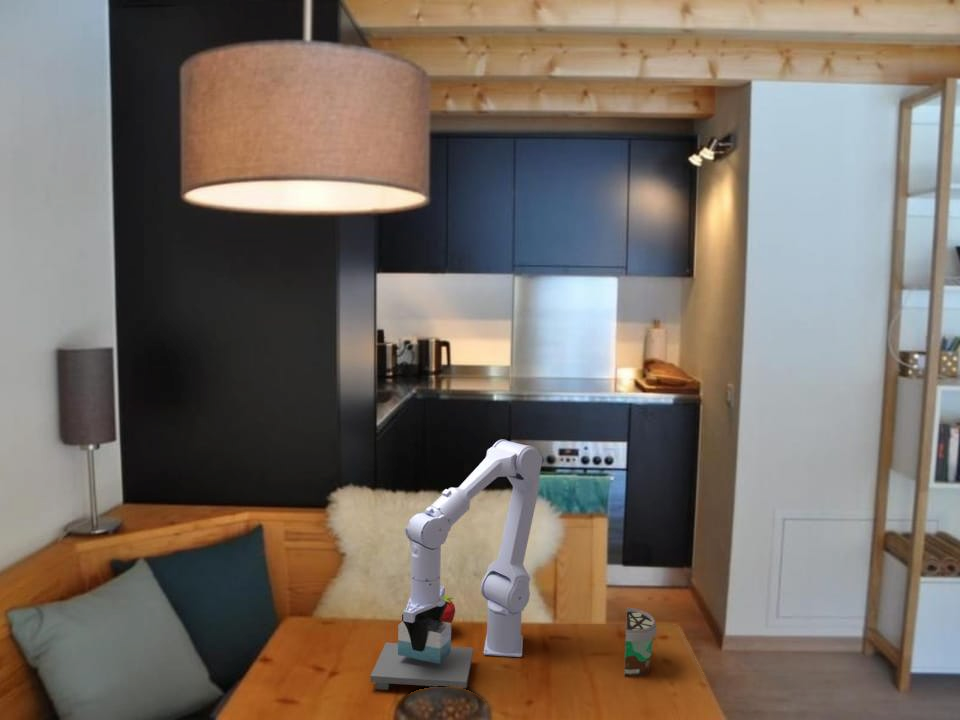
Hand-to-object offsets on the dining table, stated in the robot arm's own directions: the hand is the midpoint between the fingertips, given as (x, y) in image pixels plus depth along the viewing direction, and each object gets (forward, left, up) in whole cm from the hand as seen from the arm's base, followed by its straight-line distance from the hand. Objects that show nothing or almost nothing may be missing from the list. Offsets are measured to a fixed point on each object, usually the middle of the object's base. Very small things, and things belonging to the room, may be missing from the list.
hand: (424, 644), depth 144 cm
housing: (0, 0, -2) cm, 2 cm away
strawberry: (-19, +1, -7) cm, 20 cm away
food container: (-9, +43, -7) cm, 44 cm away
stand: (0, 0, -6) cm, 6 cm away
